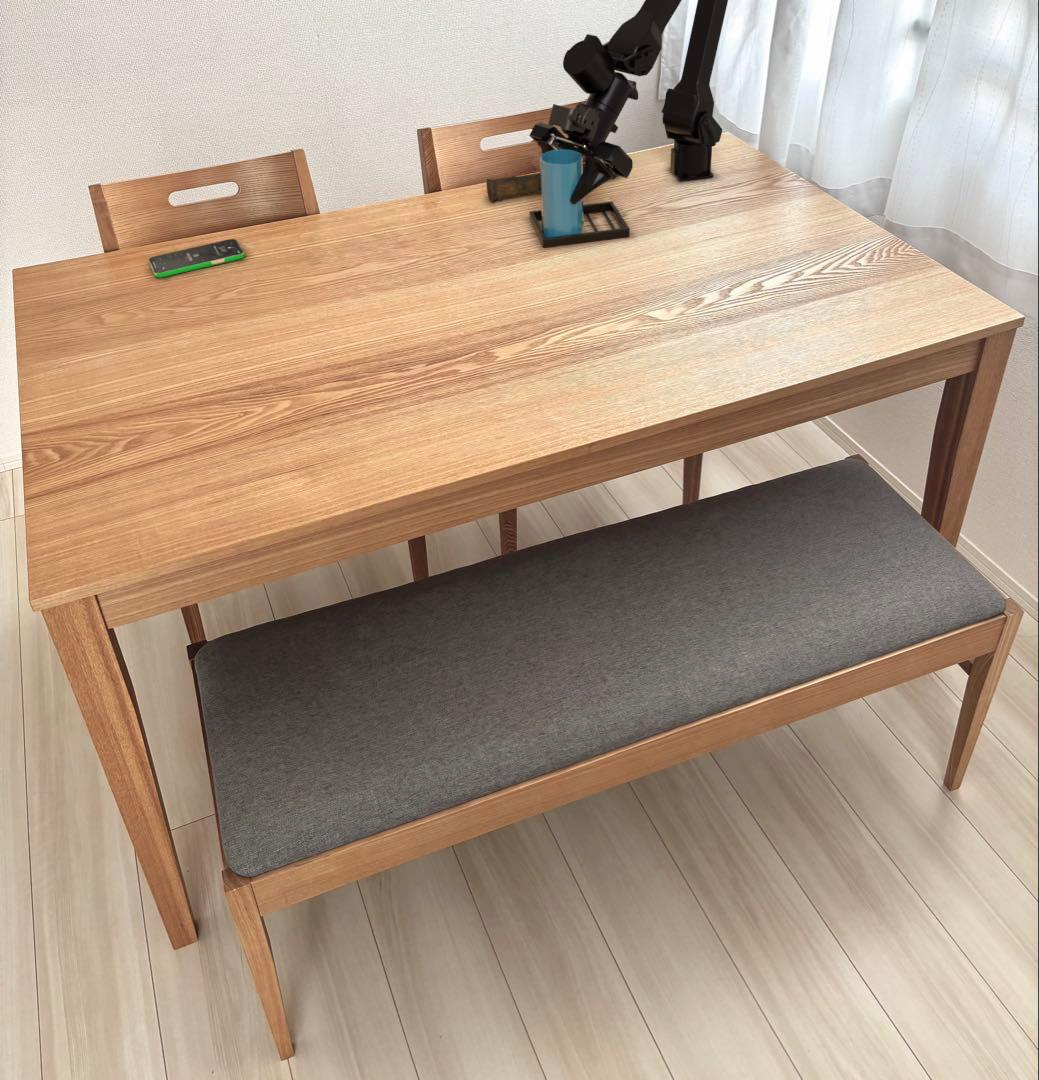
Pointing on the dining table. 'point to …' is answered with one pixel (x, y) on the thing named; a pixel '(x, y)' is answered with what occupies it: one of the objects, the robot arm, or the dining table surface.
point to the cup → (560, 192)
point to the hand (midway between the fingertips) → (555, 197)
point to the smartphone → (196, 258)
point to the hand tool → (513, 186)
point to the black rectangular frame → (584, 237)
